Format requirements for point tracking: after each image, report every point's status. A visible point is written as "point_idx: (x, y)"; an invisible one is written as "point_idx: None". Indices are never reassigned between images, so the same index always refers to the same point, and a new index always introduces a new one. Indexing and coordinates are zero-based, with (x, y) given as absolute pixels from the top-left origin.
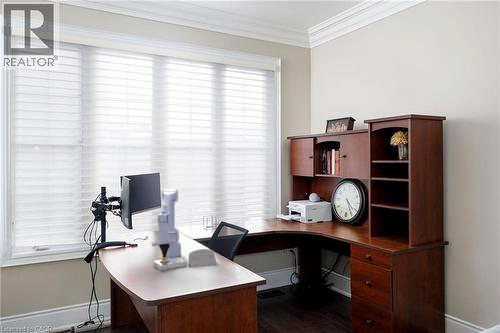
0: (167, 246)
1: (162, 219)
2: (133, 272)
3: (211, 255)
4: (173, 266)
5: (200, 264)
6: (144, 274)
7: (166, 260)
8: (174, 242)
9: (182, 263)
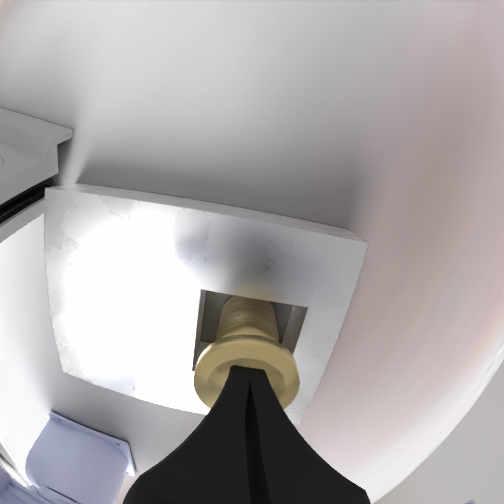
0: (209, 499)
1: None
2: (465, 337)
3: None
4: (204, 204)
5: (9, 116)
6: (468, 244)
7: (231, 333)
8: (5, 485)
9: (94, 191)
